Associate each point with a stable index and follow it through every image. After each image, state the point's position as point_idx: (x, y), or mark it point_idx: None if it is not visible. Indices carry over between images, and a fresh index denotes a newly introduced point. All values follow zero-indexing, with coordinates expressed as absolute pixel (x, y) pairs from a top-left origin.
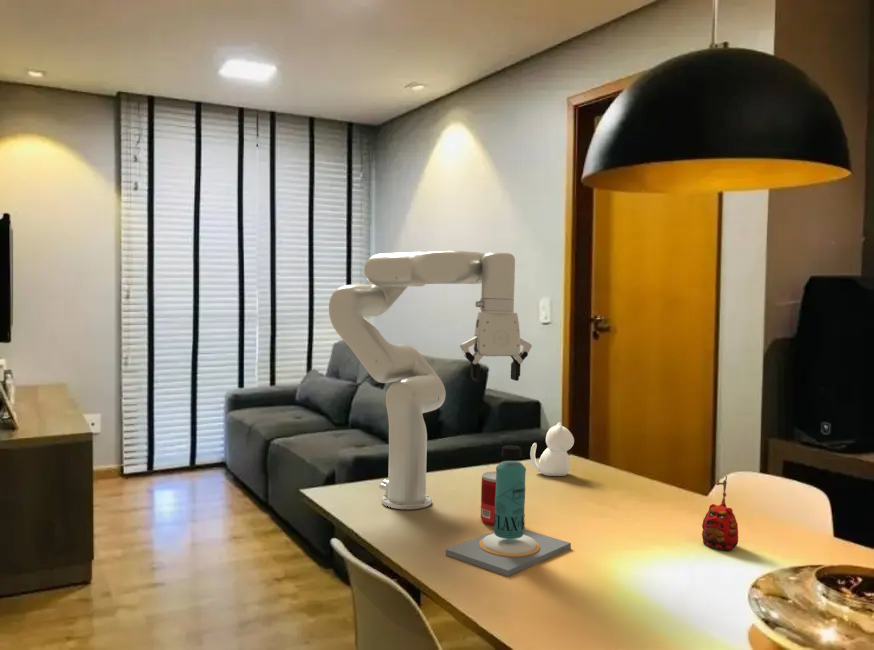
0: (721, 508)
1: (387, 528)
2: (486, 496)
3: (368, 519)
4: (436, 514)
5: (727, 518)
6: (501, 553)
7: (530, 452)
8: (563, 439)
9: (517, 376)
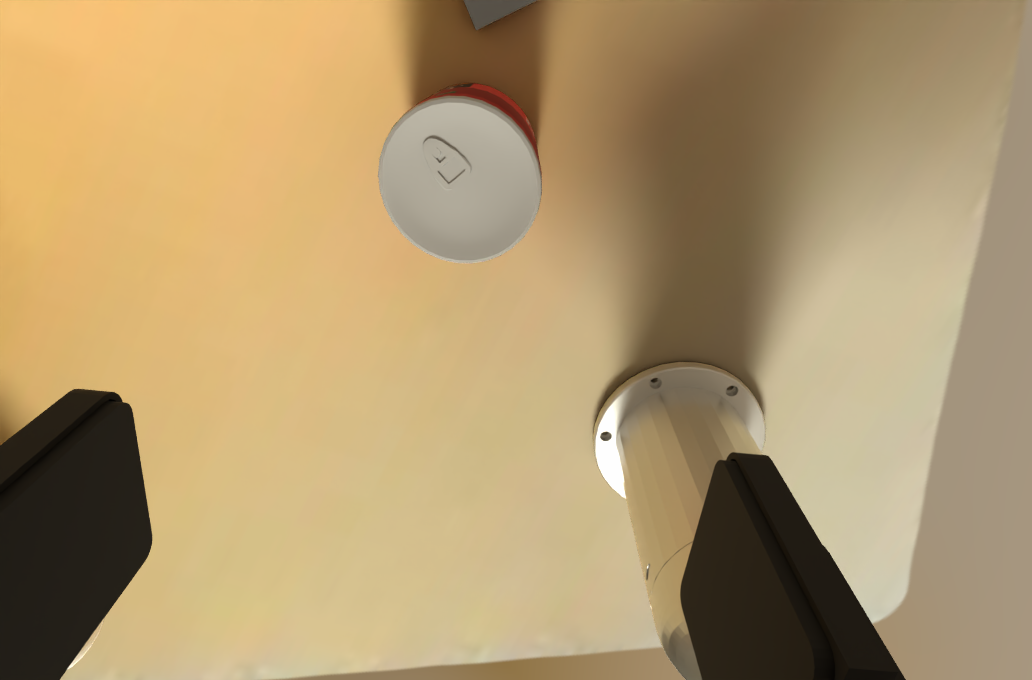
0: None
1: (876, 216)
2: (536, 147)
3: (879, 323)
4: (643, 297)
5: None
6: None
7: (89, 646)
8: None
9: (63, 415)
